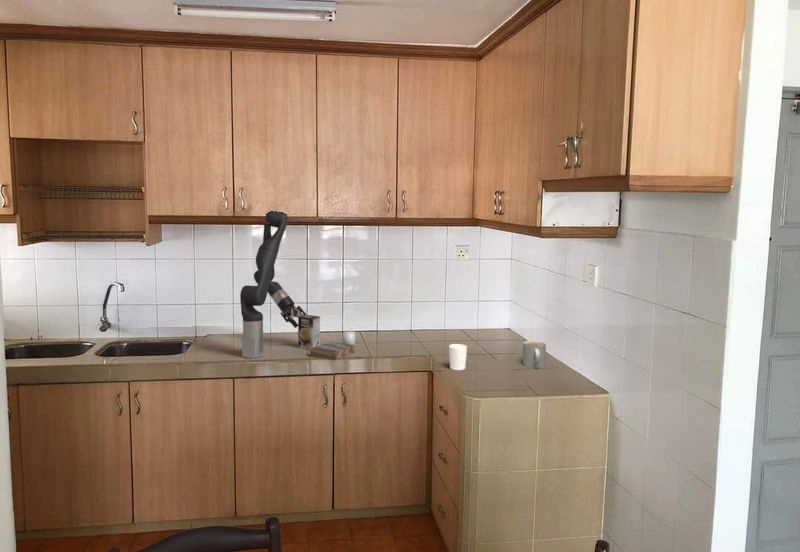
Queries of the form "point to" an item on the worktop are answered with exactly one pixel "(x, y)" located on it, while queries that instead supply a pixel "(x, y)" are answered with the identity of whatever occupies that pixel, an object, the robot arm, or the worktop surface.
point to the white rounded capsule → (349, 337)
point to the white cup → (457, 356)
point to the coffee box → (308, 331)
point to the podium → (332, 350)
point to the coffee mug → (534, 354)
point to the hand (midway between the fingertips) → (302, 325)
